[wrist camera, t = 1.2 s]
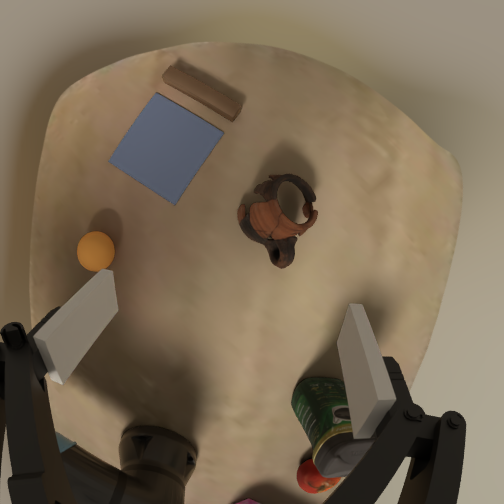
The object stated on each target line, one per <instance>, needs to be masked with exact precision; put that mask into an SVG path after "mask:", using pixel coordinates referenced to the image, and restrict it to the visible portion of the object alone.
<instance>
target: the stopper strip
mask: <svg viewBox="0 0 504 504" xmlns="http://www.w3.org/2000/svg"><path fill="white" fill-rule="evenodd" d="M162 78H163V80H164V82H165V83H166V84H168V85H170V86H172V87H174V88H175V89H177V90H179V91H181V92H183V93H184V94H186V95H188V96H190V97H191V98H193V99H195V100H196V101H198V102H200V103H202V104H203V105H205V106H207V107H208V108H210V109H212V110H213V111H215V112H217V113H218V114H220V115H222V116H223V117H225V118H226V119H228V120H230V121H231V122H233V121H234V119H235V118H236V117H237V115H238V114H239V113H240V111H241V107H242V106H241V105H239V104H238V103H236V102H234V101H233V100H231V99H230V98H228V97H226V96H225V95H223V94H221V93H219V92H218V91H216V90H214V89H213V88H211V87H209V86H207V85H206V84H204V83H202V82H200V81H199V80H197V79H195V78H193V77H191V76H189V75H188V74H186V73H184V72H182V71H180V70H178V69H176V68H174V67H172V66H170V67H169V68H168V69H167V70H166V71H165V72H164V74H163V75H162Z"/></svg>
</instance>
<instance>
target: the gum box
mask: <svg viewBox="0 0 504 504" xmlns="http://www.w3.org/2000/svg"><path fill="white" fill-rule="evenodd" d="M236 504H260V503H258V502H255V501H253V500H251V499H249V498H248V499H246V500H244V501H241V502H238V503H236Z"/></svg>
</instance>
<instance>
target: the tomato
mask: <svg viewBox="0 0 504 504" xmlns="http://www.w3.org/2000/svg"><path fill="white" fill-rule="evenodd" d="M340 479H341V477H336V478H325V477H323V476H322V475H321V474H320V473H319V471H318V469H317V468H316V466H315V464H314V462H313V459H309V460H307V461H305V462H304V463H303V464H301V465H300V466H299V468H298V471H297V481H298V484H299V486H300V487H301V488H302V489H303V490H304V491H306V492H308V493H321V492H324V491H326V490H328V489H330V488H332V487H334V486H335V485H336V484H337V483H338V482H339V481H340Z"/></svg>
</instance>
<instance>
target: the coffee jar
mask: <svg viewBox="0 0 504 504" xmlns="http://www.w3.org/2000/svg"><path fill="white" fill-rule="evenodd" d="M291 405H292V408H293V410H294V412H295V414H296V416H297V418H298V420H299V421H300V423H301V425H302V427H303V429H304V430H305V432H306V434H307V436H308V438H309V440H310V442H311V445H312V448H313V455H312V457H313V462H314V464H315V466H316V468H317V469H318V471H319V473H320V474H321V475H322V476H323V477H325V478H336V477H346V476H348V475H349V473H350V472H351V471H352V470H353V469H354V467H355V466H356V465H357V464H358V462H359V461H360V460H361V459H362V457H363V456H364V455H365V453H366V452H367V451H368V449H369V448H370V447H371V445H372V444H373V443H374V441H375V440H376V439H377V436H376V432H374V433H373V435H372V436H371V437H370V438H360V439H354V437H353V430H352V424H351V418H350V411H349V405H348V400H347V394H346V388H345V383H344V382H343V381H341V380H339V379H333V378H324V377H314V378H307V379H305V380H303V381H302V382H301V383H299V385H298V386H297V387H296V389H295V391H294V394H293V397H292V402H291Z"/></svg>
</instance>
